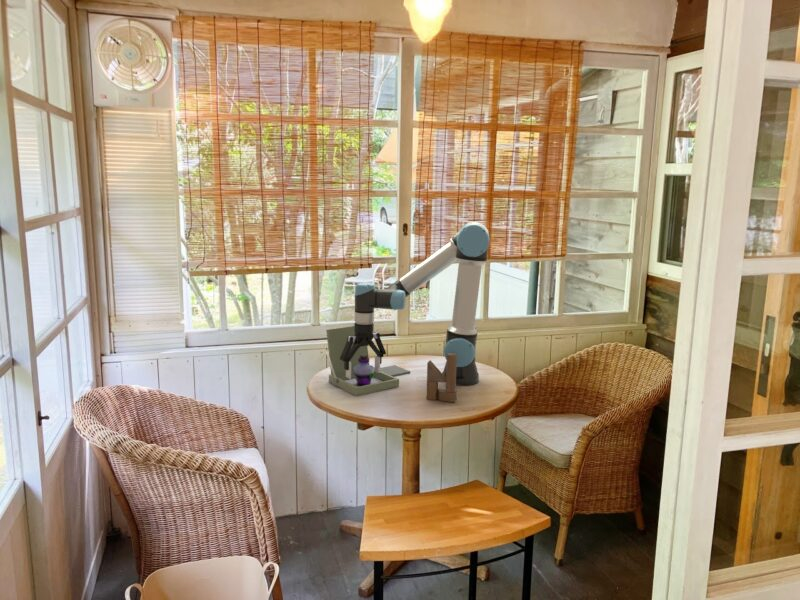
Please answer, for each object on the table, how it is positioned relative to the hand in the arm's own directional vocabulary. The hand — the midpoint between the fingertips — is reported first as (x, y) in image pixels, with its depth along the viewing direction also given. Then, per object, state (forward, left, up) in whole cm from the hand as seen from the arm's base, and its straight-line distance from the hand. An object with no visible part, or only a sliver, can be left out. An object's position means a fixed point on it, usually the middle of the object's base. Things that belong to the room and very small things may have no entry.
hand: (362, 374), depth 247 cm
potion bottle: (0, 0, -4) cm, 4 cm away
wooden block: (-31, -14, -4) cm, 34 cm away
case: (+2, 0, -4) cm, 4 cm away
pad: (+7, -19, -4) cm, 21 cm away
